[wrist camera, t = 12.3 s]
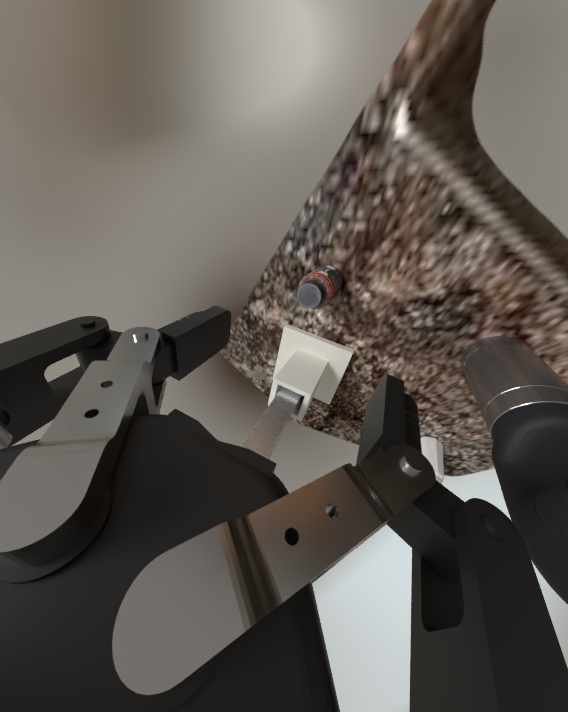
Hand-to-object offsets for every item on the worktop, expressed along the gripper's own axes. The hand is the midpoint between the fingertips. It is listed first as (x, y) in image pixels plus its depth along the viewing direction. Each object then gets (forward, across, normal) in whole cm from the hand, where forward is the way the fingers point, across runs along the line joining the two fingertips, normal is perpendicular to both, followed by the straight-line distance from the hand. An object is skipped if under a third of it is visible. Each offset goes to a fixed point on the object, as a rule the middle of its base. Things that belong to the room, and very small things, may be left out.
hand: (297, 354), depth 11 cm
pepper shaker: (+36, -28, +34) cm, 57 cm away
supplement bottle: (+36, +6, +6) cm, 37 cm away
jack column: (+28, +4, +26) cm, 38 cm away
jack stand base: (+36, +4, +26) cm, 45 cm away
